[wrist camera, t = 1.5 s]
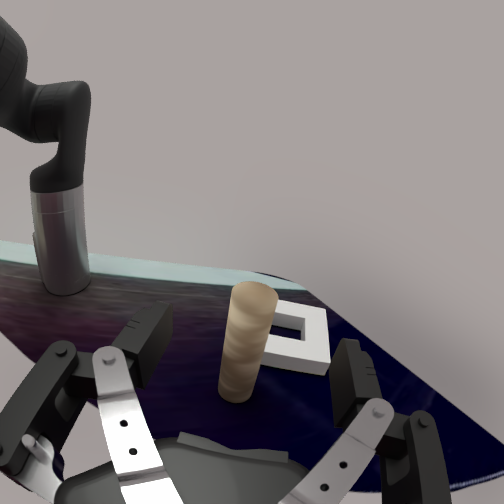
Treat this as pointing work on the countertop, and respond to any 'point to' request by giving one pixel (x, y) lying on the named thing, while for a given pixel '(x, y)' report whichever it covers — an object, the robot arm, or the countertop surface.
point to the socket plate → (299, 351)
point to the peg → (245, 339)
